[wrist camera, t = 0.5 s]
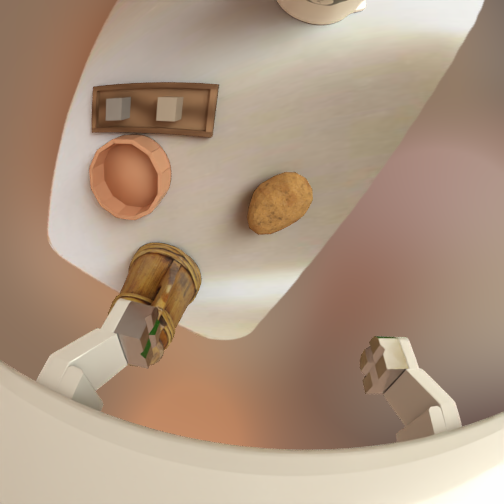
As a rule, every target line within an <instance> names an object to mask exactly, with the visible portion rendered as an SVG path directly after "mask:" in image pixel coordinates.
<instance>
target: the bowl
mask: <svg viewBox="0 0 504 504" xmlns="http://www.w3.org/2000/svg"><path fill="white" fill-rule="evenodd" d="M89 171H90V184H91V190H92V191H93V193H94V195H95V197H96V199H97V200H98V202H99V204H100V206H101V207H103V208H104V209H105V210H107V211H108V212H109V213H111V214H112V215H114V216H115V217H117V218H123V219H130V220H136V219H139V218H141V217H143V216H145V215H147V214H150V213H151V212H152V211H153V210H154V209H155V208H156V207H157V206H158V204H159V203H160V202H161V200H162V199H163V197H164V196H165V195H166V193H167V191H168V189H169V186H170V182H171V166H170V162H169V159H168V157H167V155H166V153H165V151H164V150H163V149H162V147H161V146H160V145H159V144H158V143H157V142H155V141H154V140H153V139H151V138H149V137H147V136H144V135H139V134H130V135H122V136H120V137H117V138H115V139H112V140H111V141H110V142H108V143H107V144H105V145H104V146H102V147H101V148H99V149H98V150H97V151H96V154H95V156H94V158H93V161H92V163H91V165H90V168H89Z"/></svg>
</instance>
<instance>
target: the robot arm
mask: <svg viewBox="0 0 504 504" xmlns="http://www.w3.org/2000/svg"><path fill="white" fill-rule="evenodd" d="M277 2H278V3H279V5H280V6H281V7H282V8H283V10H285V11H286V12H287V13H288V14H290V15H291V16H293V17H294V18H296V19H298V20H301V21H304V22H307V23H311V24H320V25H323V24H332V23H336V22H338V21H340V20H342V19H344V18H345V17H347V16H348V15H349V14H351V13H354V12H359V11H363V10H364V9H365V8H366V0H277ZM158 315H159V312H158V308H157V307H154V306H150V305H146V304H142V303H138V302H134V301H130V300H126V299H122V298H120V299H119V300H117V301H116V303H115V305H114V306H113V308H112V310H111V312H110V313H109V315H108V317H107V318H106V320H105V322H104V324H103V325H102V327H101V329H99V328H96V329H95V330H93V331H92V332H89V333H88V334H86V335H84V336H82V337H81V338H79V339H77V340H76V341H74V342H72V343H70V344H69V345H67V346H65V347H63V348H62V349H60V350H58V351H56V352H55V353H53V354H51V355H50V357H49V358H48V360H47V362H46V364H45V366H44V367H43V369H42V371H41V373H40V375H39V377H38V378H37V380H36V381H34V380H32V379H30V378H29V377H27V376H25V375H23V374H22V373H20V372H18V371H17V370H15V369H14V368H12V367H10V366H9V365H7V364H6V363H4V362H2V361H1V360H0V504H504V412H501V413H499V414H496V415H494V416H492V417H489V418H487V419H484V420H481V421H478V422H475V423H473V424H469V425H466V426H463V427H462V424H461V420H460V417H459V414H458V410H457V407H456V404H455V401H454V400H453V399H452V398H451V397H450V396H449V395H448V394H446V392H445V391H444V390H443V389H442V388H441V387H440V386H439V385H438V384H437V383H436V382H435V381H434V380H433V379H432V378H431V377H429V375H428V374H427V373H426V372H425V371H424V370H422V369H419V367H418V364H417V361H416V358H415V356H414V353H413V350H412V347H411V345H410V342H409V339H408V338H407V337H384V336H375V337H373V338H372V339H371V341H370V342H369V343H370V346H369V347H368V348H366V349H365V350H364V351H363V353H362V354H361V358H360V369H361V372H362V373H363V374H364V375H365V377H364V379H363V385H364V390H365V394H383V396H384V397H385V399H386V400H387V402H388V403H389V404H390V406H391V407H392V408H393V410H394V411H395V413H396V414H397V415H398V417H399V418H400V420H401V421H402V422H403V424H404V425H405V428H403V429H402V430H400V431H399V432H398V433H397V434H396V438H397V442H396V443H390V444H384V445H376V446H367V447H358V448H345V449H327V450H326V449H324V450H289V449H267V448H256V447H244V446H237V445H229V444H222V443H215V442H210V441H204V440H198V439H193V438H188V437H183V436H178V435H175V434H171V433H166V432H163V431H158V430H155V429H151V428H148V427H144V426H141V425H138V424H134V423H131V422H128V421H125V420H122V419H119V418H116V417H113V416H111V415H108V414H105V413H103V412H101V409H102V407H103V402H102V400H101V399H100V397H99V396H98V394H97V393H96V390H97V389H98V388H100V387H101V386H102V385H103V384H104V383H106V382H107V381H108V380H110V379H111V378H112V377H113V376H114V375H115V374H117V373H118V372H119V371H121V370H122V369H123V368H124V367H126V366H127V365H128V364H131V365H135V366H139V367H143V368H149V365H150V363H151V360H152V357H153V351H152V348H154V347H156V346H157V344H158V341H159V337H160V332H161V326H160V322H159V321H158V319H157V317H158Z"/></svg>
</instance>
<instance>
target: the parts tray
mask: <svg viewBox="0 0 504 504" xmlns="http://www.w3.org/2000/svg"><path fill="white" fill-rule="evenodd" d="M218 89H219V85H218V84H204V83H177V82H156V83H130V84H116V85H105V86H96V87H93V100H92V133H93V132H138V133H162V134H178V135H191V136H202V137H212V136H213V128H214V120H215V111H216V104H217V96H218ZM165 96H168V97H183V106H182V117H181V120H178V121H156V116H157V103H158V97H165ZM117 97H131V105H130V118H128V119H124V120H113V121H106V99H109V98H117Z"/></svg>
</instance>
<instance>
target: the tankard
mask: <svg viewBox="0 0 504 504" xmlns="http://www.w3.org/2000/svg"><path fill="white" fill-rule="evenodd" d="M200 285H201V273H200V270H199V268H198V266H197V265H196V263H195V262H194V261H193V260H192V259H191V258H190V257H189V256H188V255H186V254H185V253H184V252H183V251H182V250H180V249H178V248H177V247H174V246H171V245H168V244H164V243H149V244H146V245H144V246H142V247H140V248H139V250H138V252H137V253H136V254H135V255H134V257H133V259H132V261H131V263H130V266H129V274H128V276H127V278H126V281H125V283H124V285H123V288H122V290H121V292H120V294H119V295H118V296H116V298H115V299H114V301H113V302H112V305H111V307H110V310H109V312H108V315H109V313H110V312H111V310H112V308H113V306H114V305H115V303H116V301H117V300H119V299H120V298H122V299H126V300H130V301H134V302H138V303H142V304H146V305H150V306H154V307H157V308H158V312H159V315H158V317H157V319H158V321H159V322H160V326H161V332H160V337H159V341H158V344H157V346H156V347H154V348H152V351H153V357H152V360H151V363H150V365H154V364H155V363H157V362H159V361H160V359H161V358H162V356H163V353H164V350H165V349H166V348H167V347H168V346H169V344H170V343H171V342H172V339H173V337H174V334H175V328H176V326H177V325H178V323H179V321H180V319H181V317H182V315H183V313H184V312H185V310H186V308H187V306H188V305H189V304H190V303H191V302H192V301H193V300H194V299H195V297H196V295H197V293H198V291H199V288H200ZM128 365H130V366H135V365H131V364H128ZM150 365H149V366H150ZM137 367H138V366H137Z"/></svg>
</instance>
